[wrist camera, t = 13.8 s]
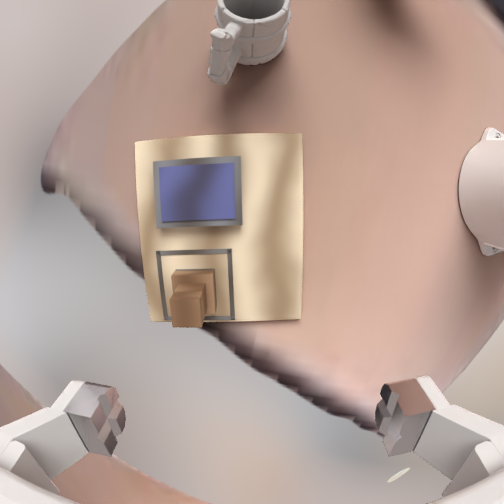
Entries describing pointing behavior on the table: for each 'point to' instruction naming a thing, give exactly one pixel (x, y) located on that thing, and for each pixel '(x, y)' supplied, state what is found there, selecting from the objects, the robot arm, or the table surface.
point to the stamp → (192, 296)
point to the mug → (246, 35)
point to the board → (250, 240)
